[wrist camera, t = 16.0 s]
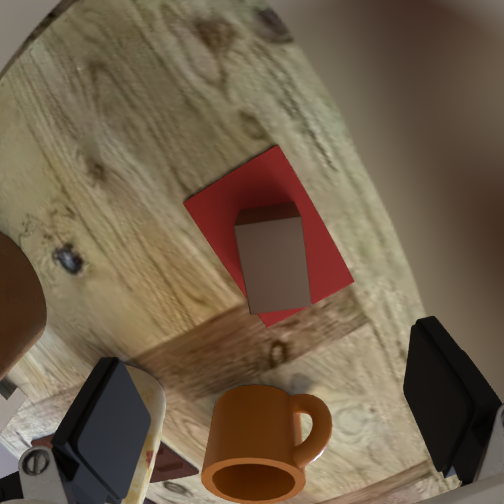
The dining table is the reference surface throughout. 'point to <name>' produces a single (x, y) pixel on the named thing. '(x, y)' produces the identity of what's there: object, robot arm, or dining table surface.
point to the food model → (156, 407)
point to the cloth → (263, 194)
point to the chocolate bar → (164, 467)
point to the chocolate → (273, 258)
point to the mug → (262, 444)
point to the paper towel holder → (10, 407)
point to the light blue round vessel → (18, 305)
